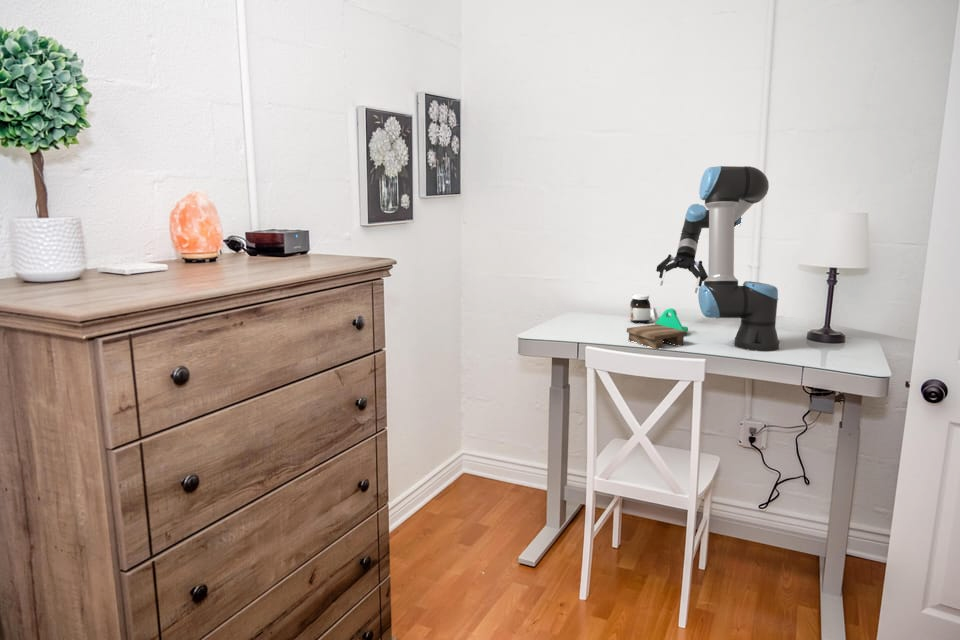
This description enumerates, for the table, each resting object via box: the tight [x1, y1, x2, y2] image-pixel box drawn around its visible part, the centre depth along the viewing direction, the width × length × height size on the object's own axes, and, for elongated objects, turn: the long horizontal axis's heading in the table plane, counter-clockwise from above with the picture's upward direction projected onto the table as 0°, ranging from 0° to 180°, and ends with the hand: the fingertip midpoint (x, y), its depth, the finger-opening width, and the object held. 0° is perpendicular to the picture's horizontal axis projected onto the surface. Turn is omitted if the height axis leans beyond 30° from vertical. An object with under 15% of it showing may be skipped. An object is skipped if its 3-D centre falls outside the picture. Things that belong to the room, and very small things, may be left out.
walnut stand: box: [626, 324, 687, 350], centre depth 255 cm, size 15×15×5 cm
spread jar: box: [629, 293, 659, 325], centre depth 291 cm, size 12×11×12 cm
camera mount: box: [656, 307, 689, 333], centre depth 271 cm, size 12×8×10 cm, turn 57°
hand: (678, 286), depth 273 cm, fingers open, 13 cm apart
